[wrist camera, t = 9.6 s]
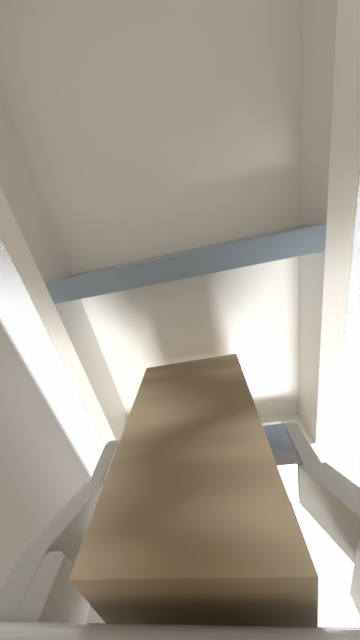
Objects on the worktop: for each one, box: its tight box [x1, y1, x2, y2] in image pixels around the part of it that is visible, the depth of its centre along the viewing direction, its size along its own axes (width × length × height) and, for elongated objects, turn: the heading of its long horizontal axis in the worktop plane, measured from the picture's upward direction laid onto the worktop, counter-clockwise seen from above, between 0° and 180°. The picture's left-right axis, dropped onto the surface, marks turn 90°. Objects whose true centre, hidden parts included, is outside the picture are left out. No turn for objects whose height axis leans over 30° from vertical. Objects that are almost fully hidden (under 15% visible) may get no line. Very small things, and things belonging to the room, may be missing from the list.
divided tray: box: [0, 0, 360, 455], centre depth 10 cm, size 25×14×3 cm, turn 12°
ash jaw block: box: [69, 354, 318, 627], centre depth 8 cm, size 4×4×7 cm
